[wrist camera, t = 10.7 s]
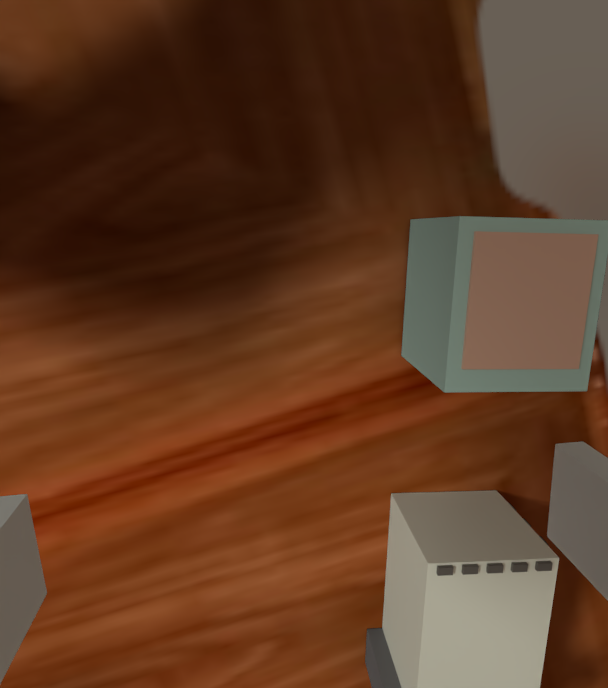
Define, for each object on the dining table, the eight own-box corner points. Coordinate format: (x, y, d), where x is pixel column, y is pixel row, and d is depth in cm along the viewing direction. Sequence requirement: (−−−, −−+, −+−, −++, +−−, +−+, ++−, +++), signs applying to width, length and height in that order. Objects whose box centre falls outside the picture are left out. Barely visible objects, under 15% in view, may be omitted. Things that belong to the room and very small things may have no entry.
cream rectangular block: (375, 493, 37) (417, 586, 27) (511, 489, 38) (598, 577, 28) (364, 677, 40) (398, 815, 31) (489, 669, 41) (560, 800, 32)
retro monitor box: (410, 219, 33) (461, 216, 25) (529, 222, 33) (615, 220, 25) (401, 355, 34) (445, 393, 27) (513, 355, 35) (589, 392, 27)
